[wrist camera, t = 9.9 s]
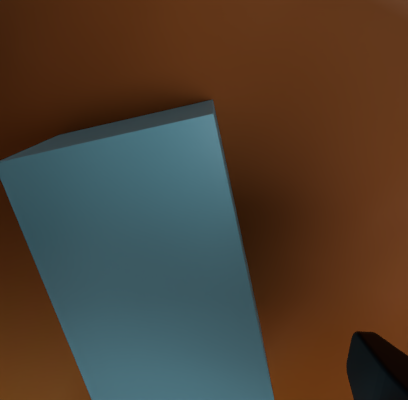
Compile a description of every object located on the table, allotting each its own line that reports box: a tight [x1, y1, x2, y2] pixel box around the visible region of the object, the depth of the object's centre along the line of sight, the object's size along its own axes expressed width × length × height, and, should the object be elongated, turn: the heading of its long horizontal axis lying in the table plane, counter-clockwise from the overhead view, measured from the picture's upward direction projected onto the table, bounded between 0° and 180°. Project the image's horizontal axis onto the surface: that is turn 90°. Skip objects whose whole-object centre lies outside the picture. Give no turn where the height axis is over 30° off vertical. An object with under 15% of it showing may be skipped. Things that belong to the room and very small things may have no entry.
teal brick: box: [0, 100, 274, 400], centre depth 11 cm, size 5×8×4 cm, turn 13°
